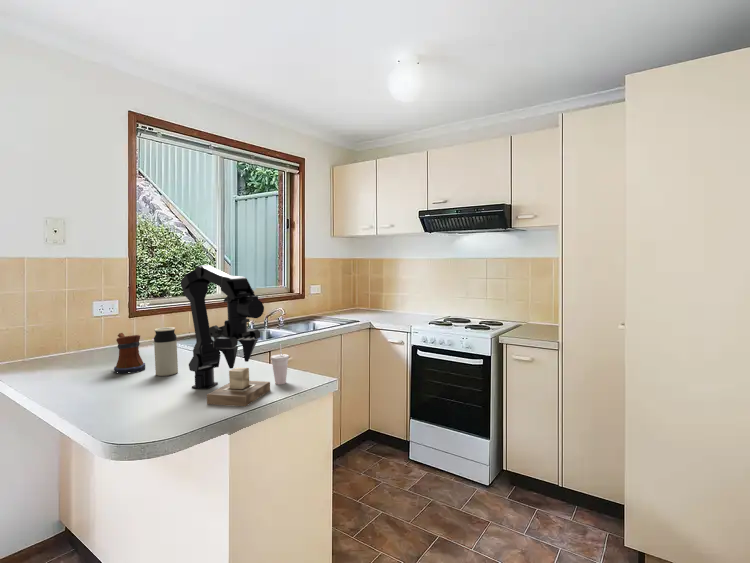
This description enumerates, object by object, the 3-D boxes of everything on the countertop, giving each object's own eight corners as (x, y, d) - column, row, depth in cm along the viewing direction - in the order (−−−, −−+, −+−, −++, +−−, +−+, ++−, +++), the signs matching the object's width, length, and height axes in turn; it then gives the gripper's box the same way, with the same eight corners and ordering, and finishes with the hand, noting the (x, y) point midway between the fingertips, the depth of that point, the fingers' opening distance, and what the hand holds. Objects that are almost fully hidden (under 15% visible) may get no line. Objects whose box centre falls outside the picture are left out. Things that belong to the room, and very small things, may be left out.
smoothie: (293, 382, 155) (292, 343, 154) (280, 386, 149) (278, 346, 149) (281, 379, 158) (279, 341, 158) (267, 383, 153) (266, 344, 152)
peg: (237, 394, 141) (236, 367, 141) (249, 395, 140) (248, 367, 140) (230, 398, 137) (229, 370, 137) (242, 399, 136) (241, 371, 136)
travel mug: (172, 376, 166) (170, 330, 166) (151, 376, 166) (149, 330, 166) (181, 371, 174) (179, 326, 174) (161, 371, 174) (159, 327, 174)
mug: (107, 368, 182) (105, 333, 181) (137, 363, 190) (135, 329, 189) (117, 376, 169) (115, 338, 168) (149, 370, 177) (147, 334, 176)
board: (235, 388, 148) (235, 379, 148) (270, 390, 145) (269, 381, 145) (207, 404, 132) (206, 393, 132) (245, 406, 130) (245, 395, 129)
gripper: (230, 312, 148) (232, 357, 149) (196, 320, 130) (198, 371, 131) (260, 312, 146) (262, 358, 147) (229, 320, 128) (231, 372, 128)
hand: (239, 364), depth 138 cm, fingers open, 9 cm apart
